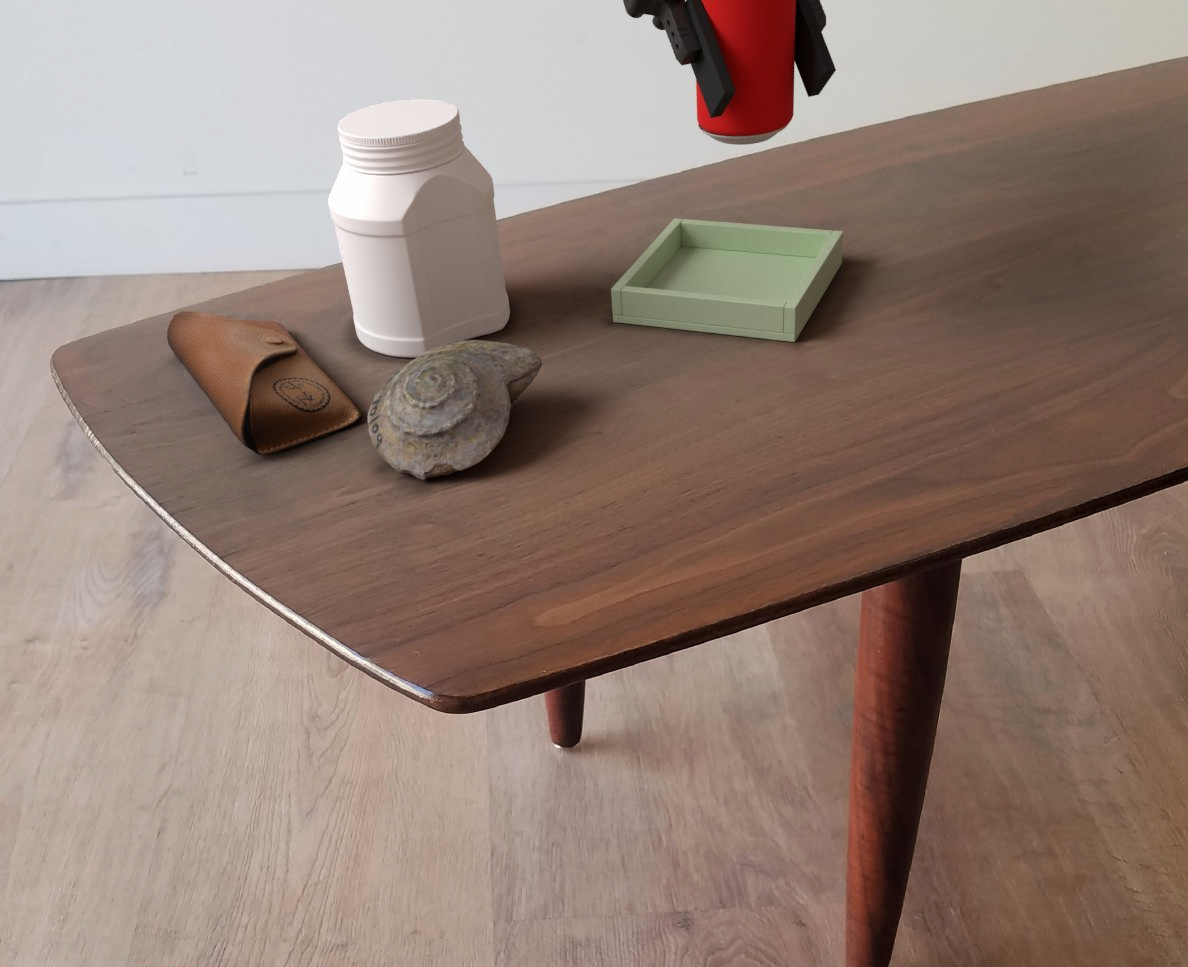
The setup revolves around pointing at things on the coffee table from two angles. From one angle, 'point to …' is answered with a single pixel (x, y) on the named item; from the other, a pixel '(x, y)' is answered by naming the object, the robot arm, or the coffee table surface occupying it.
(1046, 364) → the coffee table surface
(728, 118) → the beverage can
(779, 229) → the drinks tray
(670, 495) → the coffee table surface
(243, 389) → the sunglasses case
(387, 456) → the fossilized seashell
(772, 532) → the coffee table surface
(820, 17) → the robot arm
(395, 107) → the jar
